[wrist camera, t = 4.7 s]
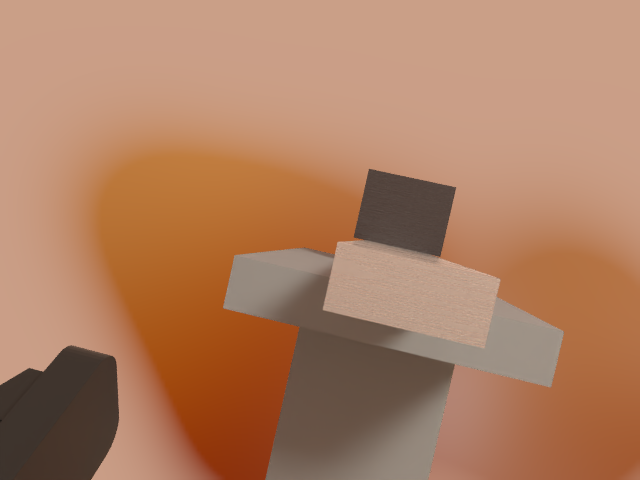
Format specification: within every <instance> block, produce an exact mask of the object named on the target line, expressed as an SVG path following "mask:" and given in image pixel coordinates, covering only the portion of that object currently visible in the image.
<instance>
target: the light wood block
mask: <svg viewBox="0 0 640 480" xmlns="http://www.w3.org/2000/svg"><path fill="white" fill-rule="evenodd" d="M455 190H456V187H452V186H447V185H442V184H437V183H433V182H428V181H423V180H419V179H414V178H409V177H405V176H400V175H394V174H390V173H386V172H381V171H376V170H372V169H369V172H368V176H367V181H366V185H365V190H364V194H363V198H362V203H361V208H360V212H359V217H358V221H357V225H356V230H355V234H354V237H355V238H359V239H363V240H364V241H349V242H348V241H347V242H338V243H337V248H336V252H335V257H334V261H333V266H332V270H331V275H330V279H329V284H328V288H327V293H326V297H325V301H324V306H323V310H325V311H329V312H333V313H337V314H341V315H346V316H350V317H354V318H358V319H362V320H367V321H371V322H375V323H379V324H383V325H388V326H392V327H396V328H400V329H404V330H409V331H413V332H417V333H421V334H425V335H430V336H434V337H438V338H442V339H446V340H451V341H455V342H459V343H463V344H467V345H472V346H476V347H480V348H484V349H485V344H486V340H487V336H488V331H489V327H490V323H491V318H492V314H493V310H494V305H495V301H496V297H497V292H498V288H499V283H500V279H499V278H496V277H494V276H491V275H488V274H485V273H482V272H479V271H476V270H473V269H470V268H467V267H464V266H461V265H458V264H455V263H452V262H450V261H446V260H444V259H441V258H438V257H435V256H439V257H440V255H441V251H442V247H443V242H444V238H445V234H446V229H447V225H448V220H449V216H450V212H451V207H452V202H453V199H454V194H455ZM429 254H430V255H429ZM432 255H435V256H432Z"/></svg>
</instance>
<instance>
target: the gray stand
mask: <svg viewBox="0 0 640 480" xmlns="http://www.w3.org/2000/svg"><path fill="white" fill-rule="evenodd" d="M334 257H335V255H334V254H330V253H326V252H321V251H317V250H312V249H308V248H297V249H288V250H279V251H270V252H260V253H251V254H242V255H235V257H234V261H233V266H232V270H231V275H230V280H229V284H228V289H227V293H226V298H225V302H224V307H223V308H225V309H229V310H233V311H237V312H241V313H245V314H250V315H254V316H258V317H263V318H266V319H271V320H274V321H279V322H283V323H287V324H291V325H295V326H299V327H300V328H299V332H298V337H297V341H296V346H295V350H294V355H293V359H292V364H291V368H290V373H289V377H288V381H287V386H286V390H285V395H284V400H283V404H282V408H281V413H280V417H279V422H278V426H277V431H276V435H275V440H274V444H273V449H272V453H271V458H270V463H269V467H268V471H267V475H266V480H428V478H429V473H430V470H431V465H432V461H433V457H434V452H435V448H436V444H437V438H438V435H439V430H440V425H441V422H442V417H443V413H444V409H445V404H446V400H447V396H448V391H449V387H450V383H451V378H452V374H453V370H454V365H455V364H456V365H461V366H465V367H469V368H473V369H477V370H482V371H485V372H490V373H494V374H498V375H502V376H506V377H511V378H514V379H519V380H523V381H527V382H531V383H535V384H539V385H543V386H548V387H551V385H552V381H553V376H554V372H555V368H556V364H557V360H558V355H559V351H560V346H561V343H562V338H563V334H564V331H562V330H560V329H558V328H556V327H554V326H552V325H550V324H548V323H546V322H544V321H542V320H540V319H538V318H536V317H534V316H532V315H531V314H529V313H526V312H525V311H523V310H521V309H519V308H517V307H515V306H513V305H511V304H509V303H507V302H505V301H503V300H501V299H499V298H498V297H496V301H495V305H494V310H493V314H492V318H491V323H490V327H489V331H488V336H487V340H486V344H485V349H484V348H480V347H476V346H472V345H467V344H463V343H459V342H455V341H451V340H446V339H442V338H438V337H434V336H430V335H425V334H421V333H417V332H413V331H409V330H404V329H400V328H396V327H392V326H388V325H383V324H379V323H375V322H371V321H367V320H362V319H358V318H354V317H350V316H346V315H341V314H337V313H333V312H329V311H325V310H323V306H324V301H325V297H326V293H327V288H328V284H329V279H330V275H331V270H332V266H333V261H334Z"/></svg>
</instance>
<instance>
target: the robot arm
mask: <svg viewBox="0 0 640 480" xmlns="http://www.w3.org/2000/svg"><path fill="white" fill-rule="evenodd" d="M118 421H119V409H118V388H117V366H116V360H115V358H114V357H113V356H110V355H107V354H103V353H99V352H95V351H91V350H87V349H84V348H79V347H76V346H68V347H66V348H65V349H63V350H62V351H61V352H60V353H59V355H58V356H57V357H56V358H55V359H54V360H53V362H52V363H51V364H50V365H49V366H48V367H47V369H46V370H45V371H44V372H42V371H38V370H34V369H30V368H29V369H27V370H25V371H23V372H22V373H20V374H18V375H17V376H15V377H13V378H12V379H10V380H8V381H7V382H5V383H3V384H2V385H0V480H91V479H92V477H93V476H94V474H95V472H96V471H97V469H98V468H99V466H100V464H101V463H102V461H103V460H104V458H105V456H106V455H107V453H108V451H109V449H110V447H111V445H112V443H113V440H114V437H115V434H116V431H117V427H118Z"/></svg>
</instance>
